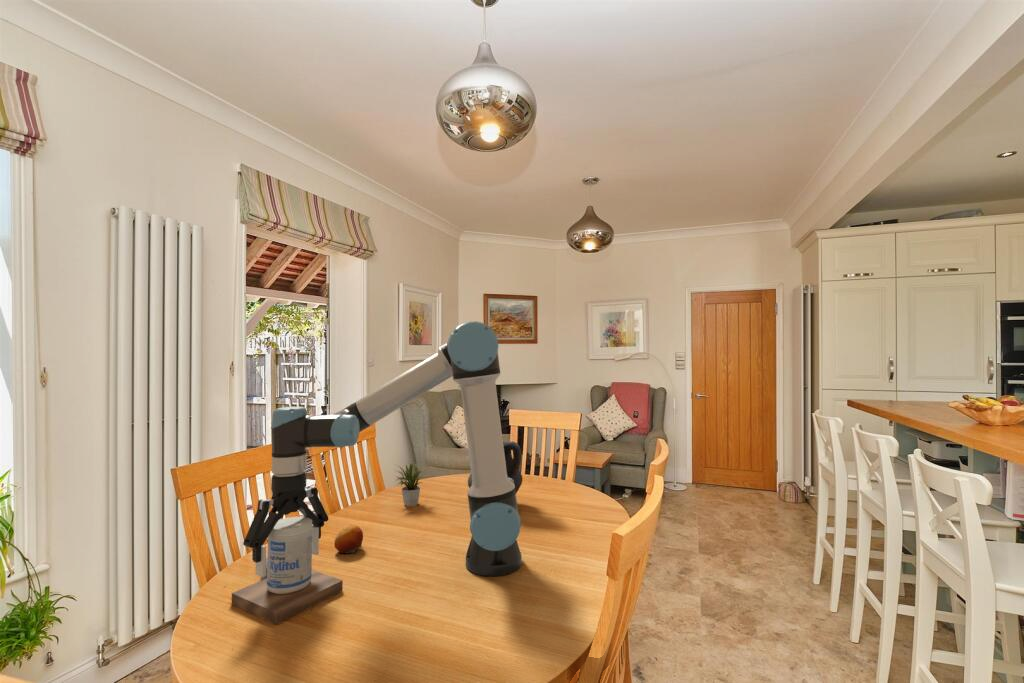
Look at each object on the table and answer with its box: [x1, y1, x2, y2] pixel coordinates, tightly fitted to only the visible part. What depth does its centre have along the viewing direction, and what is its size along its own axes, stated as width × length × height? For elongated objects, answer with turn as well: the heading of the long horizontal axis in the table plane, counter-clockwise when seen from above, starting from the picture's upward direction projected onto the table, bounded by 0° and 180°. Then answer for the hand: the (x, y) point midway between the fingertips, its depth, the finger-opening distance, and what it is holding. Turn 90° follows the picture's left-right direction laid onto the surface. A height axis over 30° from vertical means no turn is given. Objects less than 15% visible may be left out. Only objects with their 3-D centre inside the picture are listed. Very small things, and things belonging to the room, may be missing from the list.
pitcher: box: [467, 441, 523, 494], centre depth 179 cm, size 21×22×25 cm
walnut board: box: [231, 569, 343, 626], centre depth 112 cm, size 17×17×2 cm
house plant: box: [395, 461, 427, 507], centre depth 184 cm, size 14×14×16 cm
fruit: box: [334, 525, 364, 554], centre depth 140 cm, size 8×8×8 cm
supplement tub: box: [267, 516, 313, 594], centre depth 113 cm, size 10×10×15 cm
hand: (288, 564), depth 112 cm, fingers open, 13 cm apart
